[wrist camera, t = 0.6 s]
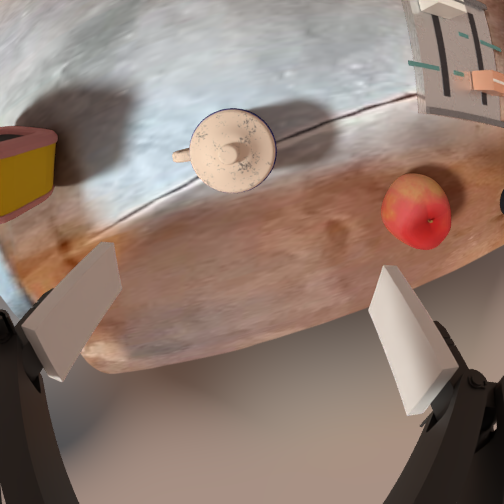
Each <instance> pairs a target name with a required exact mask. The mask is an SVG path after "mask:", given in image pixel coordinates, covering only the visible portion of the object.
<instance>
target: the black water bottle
mask: <svg viewBox="0 0 504 504" xmlns="http://www.w3.org/2000/svg"><path fill="white" fill-rule="evenodd" d="M500 208H501V211H502V213H503V214H504V190H503V192H502V194H501V199H500Z"/></svg>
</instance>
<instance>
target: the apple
mask: <svg viewBox="0 0 504 504" xmlns="http://www.w3.org/2000/svg"><path fill="white" fill-rule="evenodd" d="M381 216H382V220H383V223H384V225H385V226H386V228H387V229H388V230H389V232H390V233H391V234H393V235H394V236H395V237H396V238H397V239H399V240H400V241H402V242H403V243H405V244H407V245H409V246H411V247H413V248H416V249H421V250H430V249H433V248H435V247H437V246H438V245H439V244H440V243H441V242H442V241H443V240H444V239H445V238H446V236H447V235H448V233H449V231H450V228H451V210H450V205H449V201H448V199H447V196H446V194H445V193H444V191H443V190H442V188H441V187H440V186H439V185H438V184H437V183H436V182H435V181H434V180H433V179H432V178H430V177H428V176H425V175H422V174H415V173H411V174H404V175H402V176H400V177H398V178H397V179H396V180H395V181H394V182H393V183H392V185H391V186H390V188H389V189H388V191H387V193H386V195H385V197H384V200H383V203H382V207H381Z"/></svg>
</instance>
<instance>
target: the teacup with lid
mask: <svg viewBox="0 0 504 504" xmlns="http://www.w3.org/2000/svg"><path fill="white" fill-rule="evenodd" d="M276 155H277V147H276V141H275V138H274V135H273V133H272V131H271V129H270V127H269V126H268V125H267V123H266V122H265V121H264V120H262V119H261V118H260V117H259V116H257V115H256V114H254V113H252V112H249V111H247V110H243V109H237V108H230V109H223V110H219V111H217V112H214V113H212V114H210V115H209V116H207V117H206V118H205V119H203V120H202V121H201V122H200V124H199V125H198V126H197V128H196V129H195V131H194V133H193V135H192V138H191V141H190V147H189V148H186V149H182V150H179V151H176V152H174V153H173V154H172V157H173V161H174V162H187V161H191V164H192V166H193V169H194V171H195V172H196V174H197V175H198V177H199V178H200V179H201V180H202V181H203V182H204V183H205V184H207V185H208V186H210V187H211V188H213V189H216V190H218V191H221V192H226V193H240V192H245V191H248V190H251V189H253V188H255V187H257V186H258V185H259V184H261V183H262V182H263V181H264V180H265V179H266V178H267V177H268V175H269V174H270V173H271V171H272V169H273V167H274V164H275V161H276Z"/></svg>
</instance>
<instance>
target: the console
mask: <svg viewBox="0 0 504 504" xmlns="http://www.w3.org/2000/svg"><path fill="white" fill-rule="evenodd" d="M401 1H402V5H403V9H404V13H405V17H406V22H407V27H408V32H409V37H410V43H411V49H412V55H413V61H409V60H408V64H409V65H410V66H414V70H415V79H416V89H417V102H418V113H423V114H431V115H438V116H445V117H451V118H457V119H463V120H468V121H473V122H478V123H483V124H487V125H492V126H497V127H502V128H504V122H502V121H500V101H499V96H493V95H490V94H487V93H484V92H480V91H477V90H474V88H473V78H472V71H479V70H494V71H496V64H495V58H494V52H493V49H495V50H497V51H499V52H501V48H498V47H496V46H494V45H492V42H491V37H490V33H489V28H488V24H487V20H486V17H485V13H484V11H485V10H487V7H486V5H485V4H483V3H481V2H479V1H476V0H463V1H464V2H465V4H466V5H465V7H466V11H467V13H464V14H462V15H459V16H456V17H453V18H451V19H446V18H443V17H440V16H436V15H433V14H430V13H426V12H422V11H421V9H420V5H419V1H418V0H401ZM496 72H497V71H496Z"/></svg>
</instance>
